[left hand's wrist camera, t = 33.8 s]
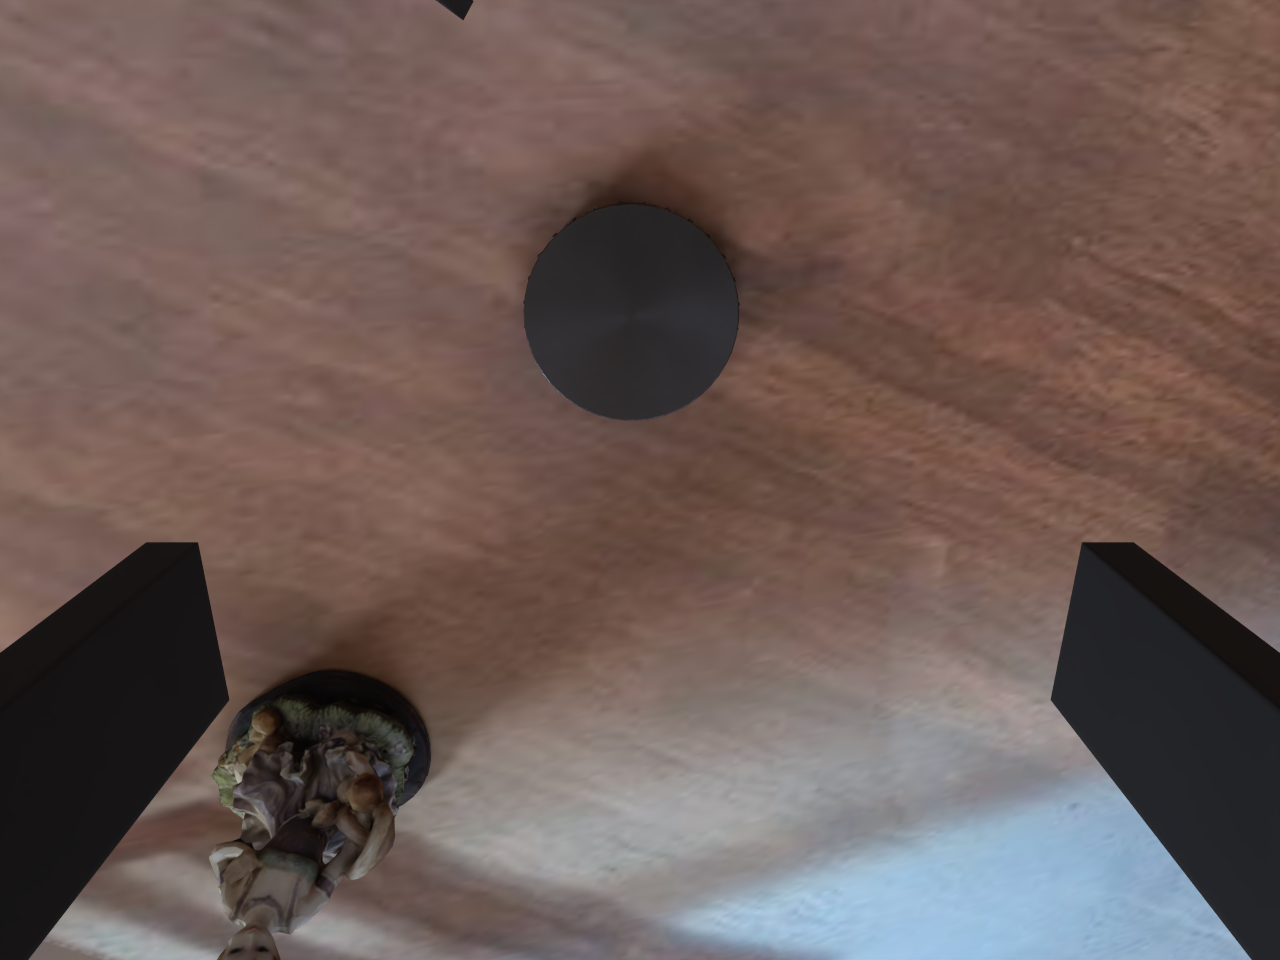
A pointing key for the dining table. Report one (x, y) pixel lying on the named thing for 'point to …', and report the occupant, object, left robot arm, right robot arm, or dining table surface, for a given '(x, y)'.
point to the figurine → (311, 798)
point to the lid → (631, 311)
